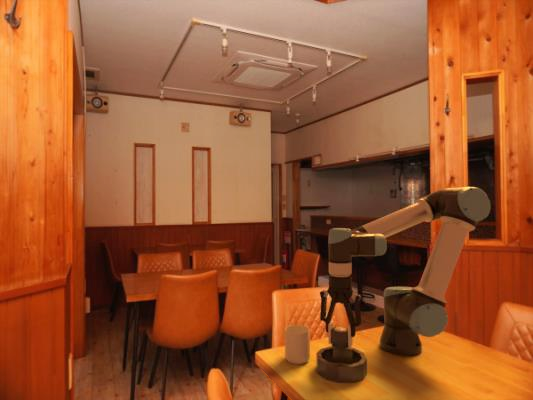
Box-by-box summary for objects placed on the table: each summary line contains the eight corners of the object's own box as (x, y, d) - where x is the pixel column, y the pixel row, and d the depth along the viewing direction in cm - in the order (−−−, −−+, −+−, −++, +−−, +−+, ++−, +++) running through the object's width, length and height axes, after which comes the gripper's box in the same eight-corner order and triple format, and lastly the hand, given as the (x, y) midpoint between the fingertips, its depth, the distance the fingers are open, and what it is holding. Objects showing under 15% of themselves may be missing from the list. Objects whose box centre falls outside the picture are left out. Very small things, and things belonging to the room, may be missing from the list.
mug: (310, 365, 125) (310, 333, 125) (284, 365, 126) (284, 333, 126) (309, 351, 137) (308, 321, 137) (285, 350, 138) (285, 321, 138)
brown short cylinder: (347, 341, 124) (347, 325, 124) (351, 348, 118) (351, 332, 118) (330, 341, 124) (329, 326, 124) (333, 348, 118) (332, 332, 118)
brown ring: (359, 360, 129) (359, 345, 129) (371, 382, 113) (371, 366, 113) (314, 360, 129) (314, 345, 129) (320, 382, 113) (320, 366, 114)
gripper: (371, 275, 120) (371, 345, 120) (317, 270, 129) (317, 335, 129) (366, 279, 114) (366, 353, 113) (309, 274, 123) (309, 342, 122)
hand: (340, 344), depth 121 cm, fingers closed on brown short cylinder, 6 cm apart
